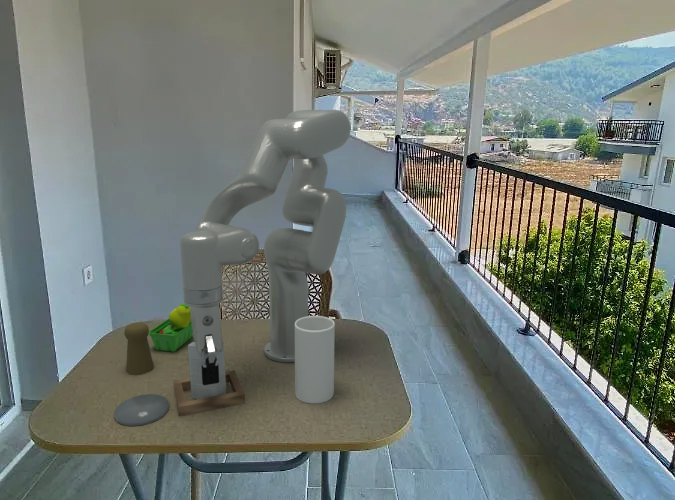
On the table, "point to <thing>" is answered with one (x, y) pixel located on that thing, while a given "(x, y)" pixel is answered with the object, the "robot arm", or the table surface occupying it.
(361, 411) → the table surface
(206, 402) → the walnut holder
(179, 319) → the fruit basket
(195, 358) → the skincare box
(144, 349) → the cork
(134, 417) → the slate coaster
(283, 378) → the table surface
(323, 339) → the cup
